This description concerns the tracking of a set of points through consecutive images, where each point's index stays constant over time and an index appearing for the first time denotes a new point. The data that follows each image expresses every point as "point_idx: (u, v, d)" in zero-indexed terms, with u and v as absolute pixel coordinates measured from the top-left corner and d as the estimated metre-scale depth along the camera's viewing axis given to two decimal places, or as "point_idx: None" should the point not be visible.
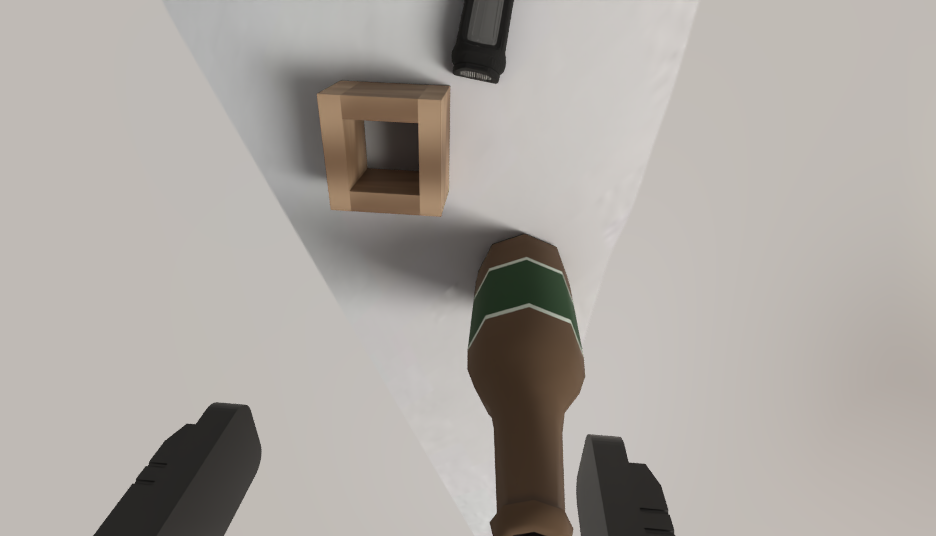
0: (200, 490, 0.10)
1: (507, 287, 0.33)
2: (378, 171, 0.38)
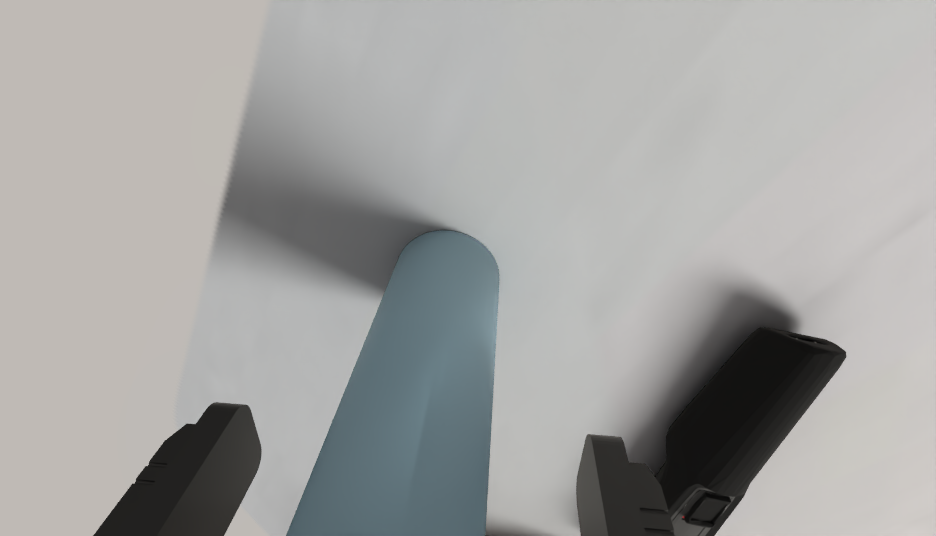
0: (200, 490, 0.10)
1: None
2: None
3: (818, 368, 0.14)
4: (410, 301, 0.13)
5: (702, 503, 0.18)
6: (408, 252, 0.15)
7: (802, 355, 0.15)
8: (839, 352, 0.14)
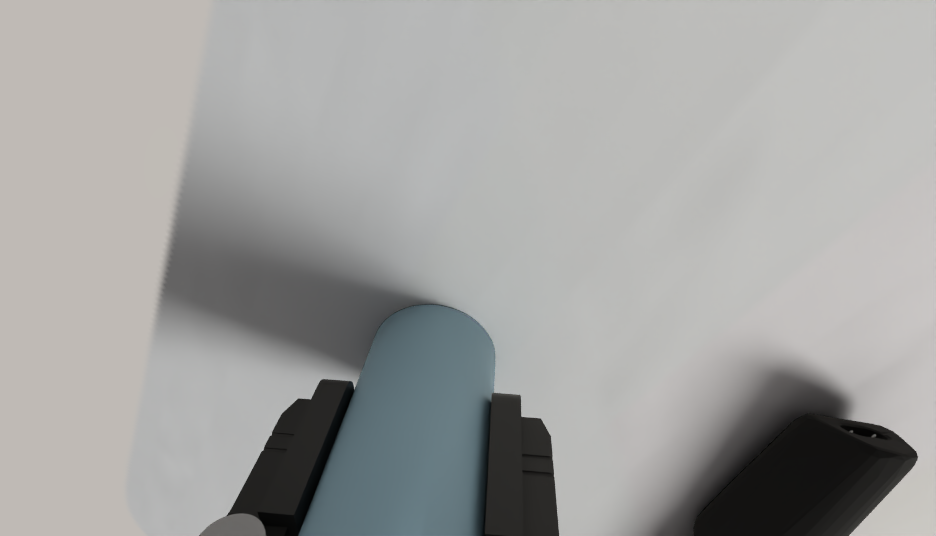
0: (325, 457, 0.10)
1: None
2: None
3: (884, 474, 0.12)
4: (382, 416, 0.10)
5: None
6: (385, 333, 0.13)
7: (863, 457, 0.12)
8: (910, 455, 0.12)
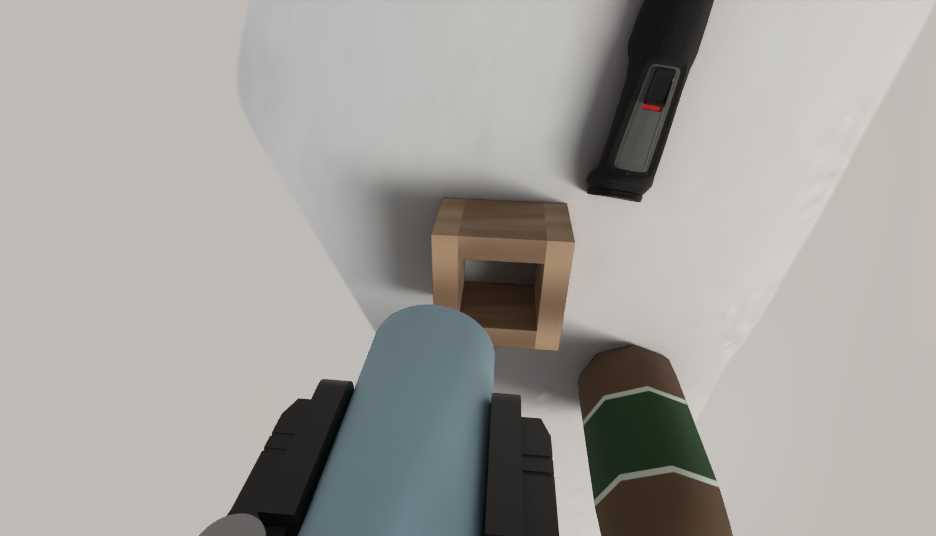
0: (325, 457, 0.10)
1: (636, 432, 0.30)
2: (478, 287, 0.34)
3: None
4: (381, 416, 0.10)
5: (655, 78, 0.24)
6: (385, 333, 0.13)
7: None
8: None
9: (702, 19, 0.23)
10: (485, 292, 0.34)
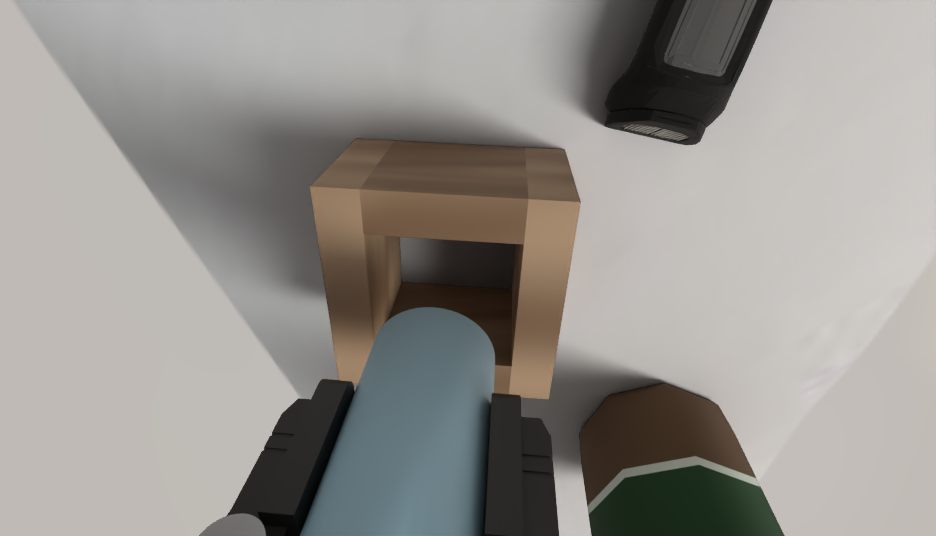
0: (325, 457, 0.10)
1: None
2: (422, 291, 0.21)
3: None
4: (382, 419, 0.10)
5: None
6: (385, 336, 0.13)
7: None
8: None
9: None
10: (432, 299, 0.21)
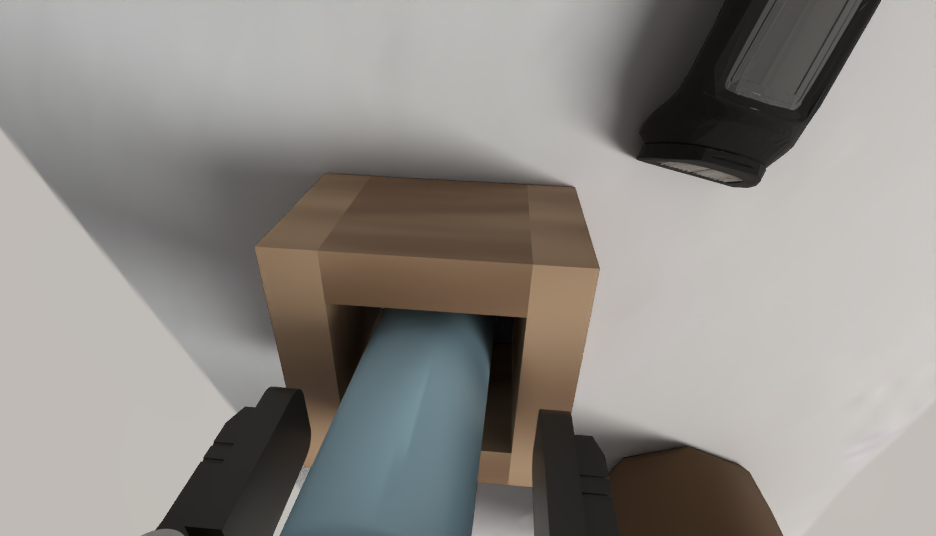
0: (266, 467, 0.10)
1: None
2: None
3: None
4: (409, 310, 0.13)
5: None
6: None
7: None
8: None
9: None
10: None
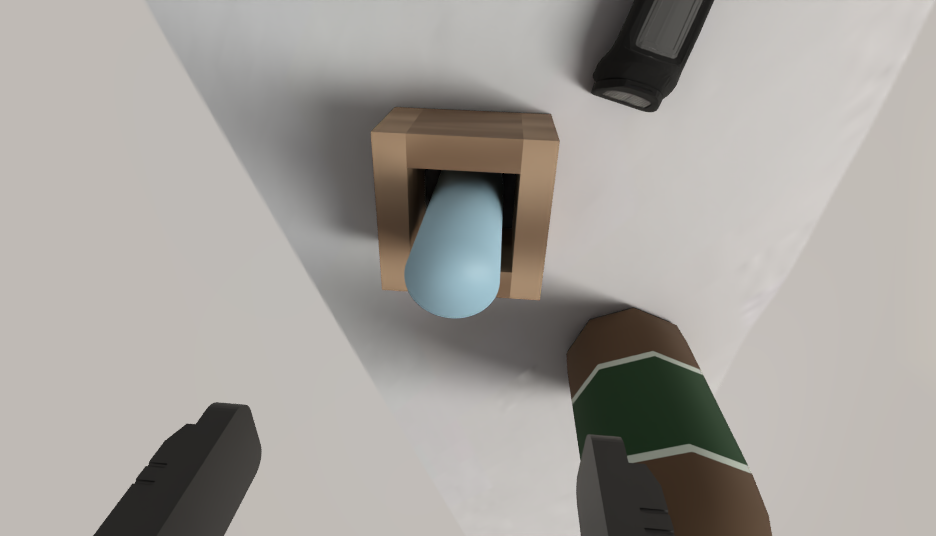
0: (200, 490, 0.10)
1: (640, 405, 0.23)
2: None
3: None
4: (455, 179, 0.22)
5: None
6: None
7: None
8: None
9: None
10: None
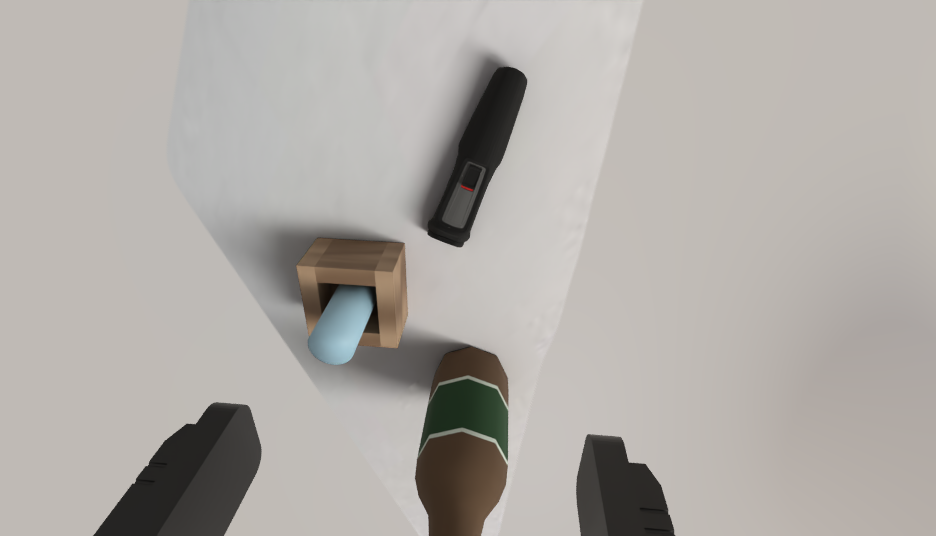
0: (201, 490, 0.10)
1: (449, 407, 0.42)
2: None
3: (510, 77, 0.33)
4: (345, 285, 0.41)
5: (469, 171, 0.37)
6: None
7: (505, 71, 0.33)
8: (518, 70, 0.33)
9: (500, 141, 0.36)
10: None
